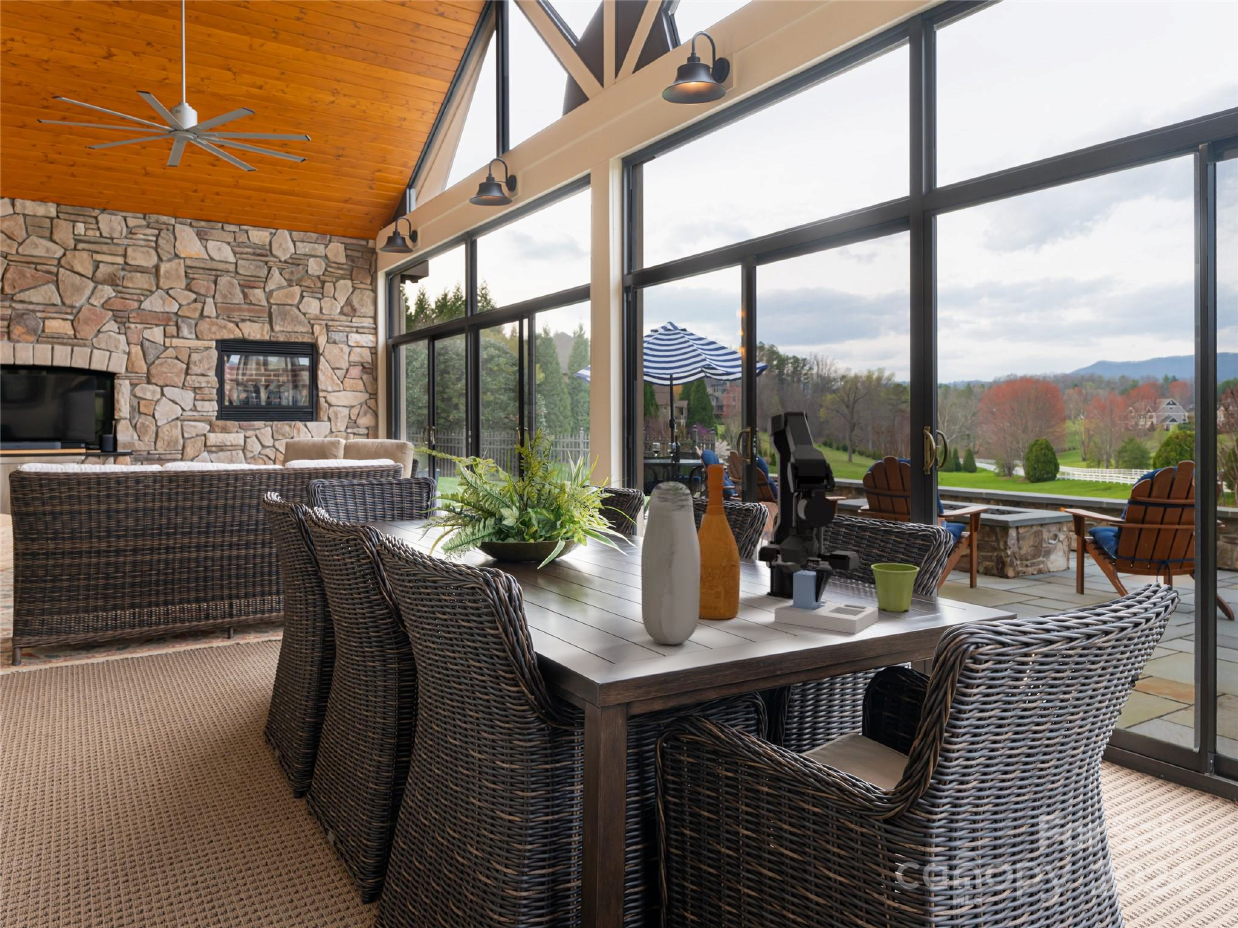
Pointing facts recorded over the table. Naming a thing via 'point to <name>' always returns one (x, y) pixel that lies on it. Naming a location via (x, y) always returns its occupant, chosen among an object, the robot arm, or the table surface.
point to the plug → (805, 590)
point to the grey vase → (670, 566)
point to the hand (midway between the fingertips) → (806, 600)
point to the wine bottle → (717, 555)
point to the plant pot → (894, 585)
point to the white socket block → (829, 616)
